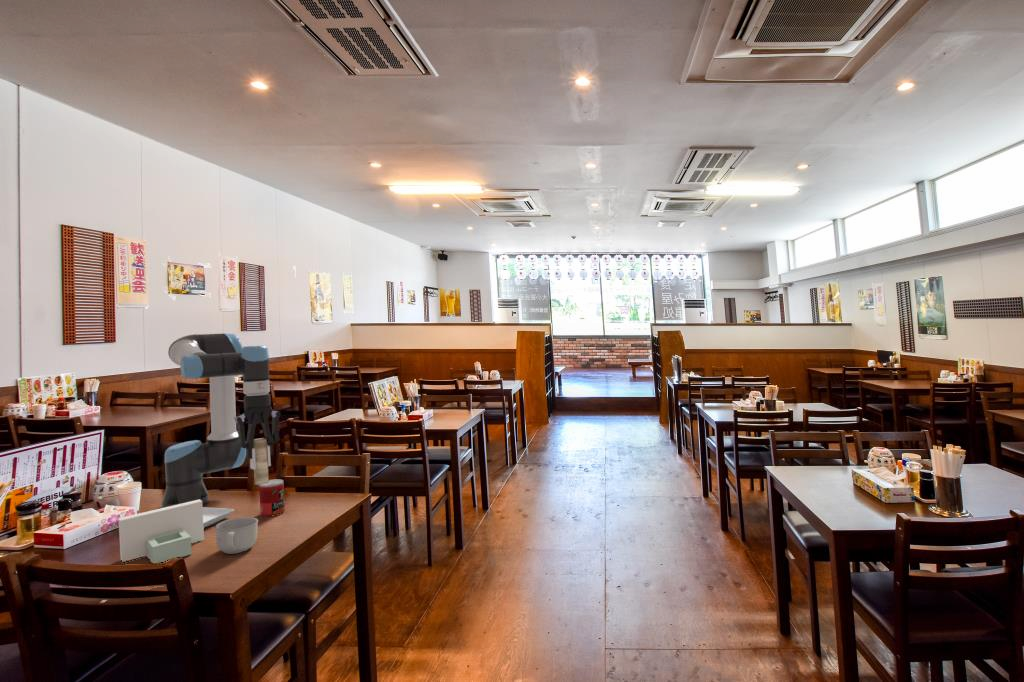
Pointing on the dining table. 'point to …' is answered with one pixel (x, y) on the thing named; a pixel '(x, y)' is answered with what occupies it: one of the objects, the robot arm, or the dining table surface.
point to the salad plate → (214, 515)
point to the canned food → (272, 497)
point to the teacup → (236, 534)
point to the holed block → (168, 546)
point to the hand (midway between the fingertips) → (260, 466)
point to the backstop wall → (159, 527)
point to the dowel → (261, 461)
